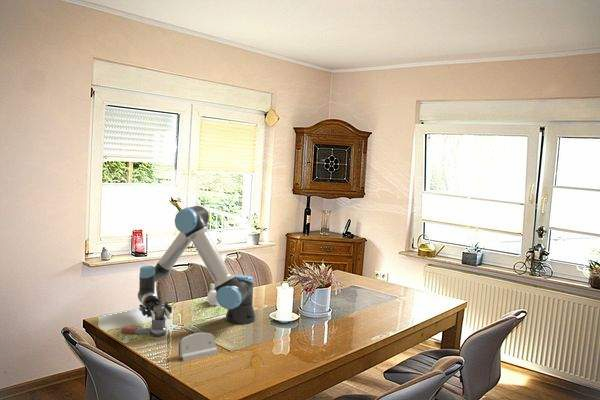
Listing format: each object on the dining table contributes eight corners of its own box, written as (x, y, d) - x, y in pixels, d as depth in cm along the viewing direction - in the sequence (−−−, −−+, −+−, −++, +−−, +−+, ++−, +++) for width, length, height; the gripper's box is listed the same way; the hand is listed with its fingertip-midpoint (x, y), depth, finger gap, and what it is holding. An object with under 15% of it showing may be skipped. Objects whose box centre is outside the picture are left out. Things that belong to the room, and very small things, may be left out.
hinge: (182, 361, 216) (179, 336, 217) (178, 361, 219) (175, 337, 221) (218, 353, 226) (215, 329, 228) (213, 353, 230) (210, 330, 231)
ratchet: (167, 331, 248) (168, 318, 248) (163, 337, 241) (164, 323, 241) (125, 329, 248) (125, 316, 248) (120, 334, 241) (120, 321, 241)
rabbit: (226, 305, 295) (227, 284, 294) (212, 308, 288) (213, 286, 287) (213, 299, 303) (214, 279, 302) (200, 302, 297) (200, 281, 296)
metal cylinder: (165, 326, 247) (165, 305, 246) (162, 329, 242) (162, 308, 241) (154, 325, 247) (155, 304, 246) (151, 329, 242) (152, 308, 241)
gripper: (169, 307, 264) (181, 322, 244) (130, 311, 256) (139, 326, 235) (170, 293, 264) (182, 306, 243) (131, 296, 255) (140, 310, 235)
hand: (161, 316), depth 239 cm, fingers open, 6 cm apart
